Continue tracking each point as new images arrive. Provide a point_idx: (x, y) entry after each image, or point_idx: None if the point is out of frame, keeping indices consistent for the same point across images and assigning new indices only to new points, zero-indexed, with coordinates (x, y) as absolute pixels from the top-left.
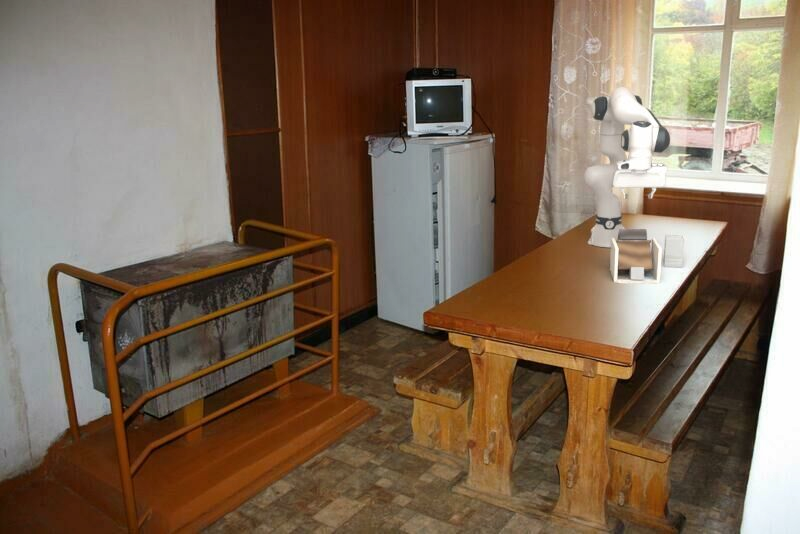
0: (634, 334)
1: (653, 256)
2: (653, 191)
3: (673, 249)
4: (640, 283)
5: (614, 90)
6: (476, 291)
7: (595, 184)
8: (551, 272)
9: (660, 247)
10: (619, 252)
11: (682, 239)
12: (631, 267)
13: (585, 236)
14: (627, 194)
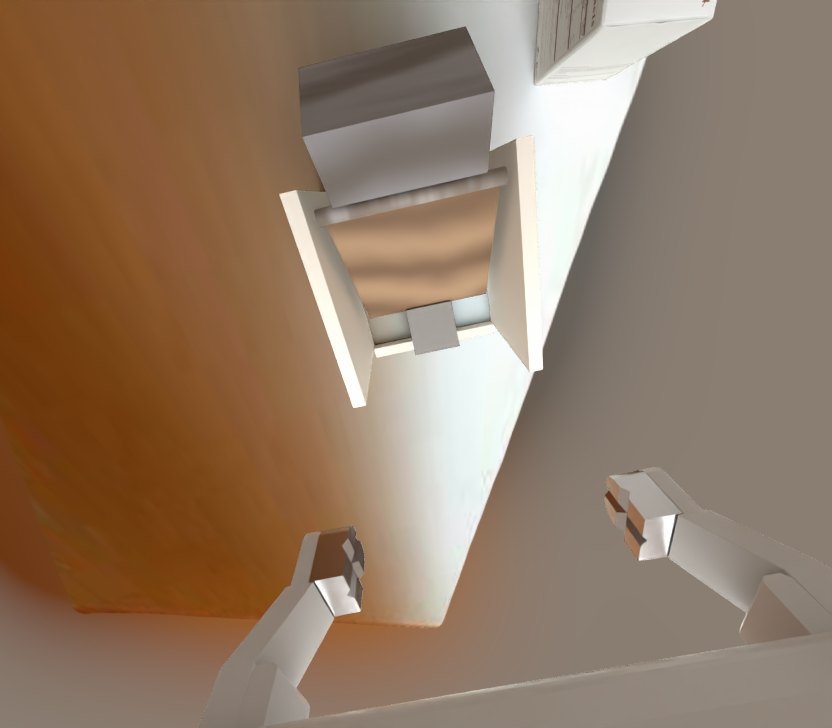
0: (445, 593)
1: (499, 234)
2: (736, 599)
3: (613, 52)
4: None
5: None
6: (55, 504)
7: None
8: (132, 294)
9: (540, 344)
10: (355, 272)
11: (704, 20)
12: (417, 354)
13: None
14: (357, 608)
